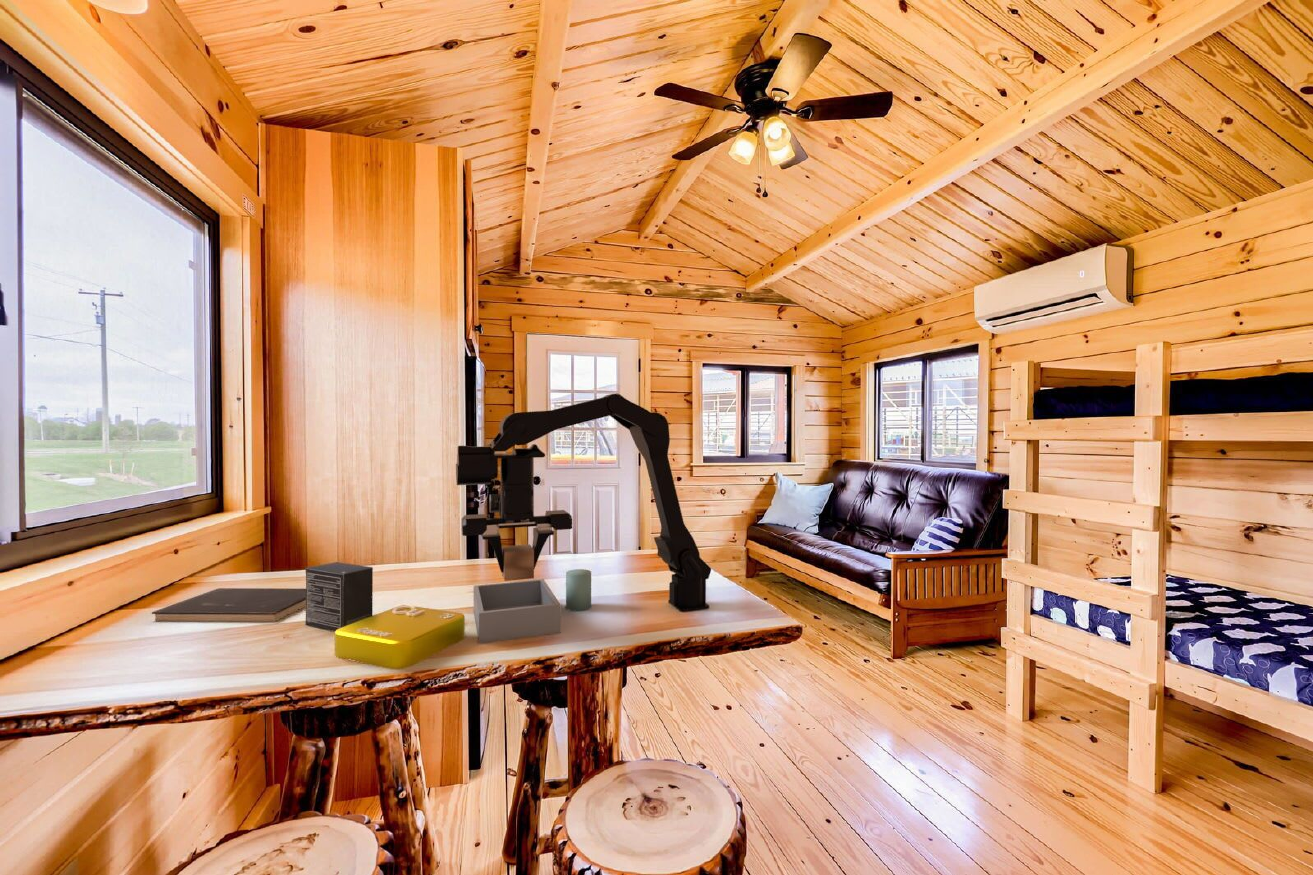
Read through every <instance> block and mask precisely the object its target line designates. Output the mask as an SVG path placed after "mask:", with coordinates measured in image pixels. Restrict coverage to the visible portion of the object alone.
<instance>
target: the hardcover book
mask: <svg viewBox="0 0 1313 875" xmlns="http://www.w3.org/2000/svg"><path fill="white" fill-rule="evenodd" d="M303 608H306V588H289V587H288V588H286V587H285V588H279V587H278V588H269V587H268V588H266V587H265V588H263V587H262V588H261V587H260V588H259V587H258V588H257V587H256V588H255V587H254V588H253V587H252V588H251V587H248V588H247V587H246V588H245V587H238V588H237V587H228V588H227V587H218V588H216V589H213V590H210V591H207V592H204V593H202V594H201V593H200V594H199V595H196V596H193V597H191V598H187V599H185V600H182V601H179V602H177V603H174V604H172V605H169V606H168V605H167V606H165V607H163V608H160V609H158V610H154V611H152V612H151V615H155V618H154V620H155V621H167V622H168V621H170V622H172V621H177V622H179V621H180V622H181V621H185V622H186V621H187V622H272V621H275V622H276V620H277V621H279V620H280V619H279V618H281V619H282V618H285V617H287V616H288V615H287V614H289V615H291V614H294V613H295V612H297V611H299V610H302V609H303ZM298 609H299V610H298ZM286 615H287V616H286ZM284 616H285V617H284ZM278 619H279V620H278Z"/></svg>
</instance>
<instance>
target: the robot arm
mask: <svg viewBox="0 0 1313 875" xmlns="http://www.w3.org/2000/svg"><path fill="white" fill-rule="evenodd" d="M608 416H609V417H611V418H612V419H613V420H614V421H616V422H617V423H618V424H620V425H621V426H622V427H623V428H625V429H627V430H628V431H629V432H630V435H631V437H632V440H633V443H634V444H635V447H636V448H637V450H638V451H639V453H640V454H641V456H642V458H643V460H644V462H645V466H646V470H647V474H648V477H649V481H650V486H651V491H652V494H653V497H654V498H653V499H654V502H655V506H656V511H657V514H658V518H659V523H660V527H661V528H660V535H659V536H654V537H653V539H654V542H655V545H656V547H657V557H659V558H661V560H662V561H663V562H664V563H665V564H667V566H668V569H669V572H672V573H673V574H671V581H670V582H669V586H668V587H669V589H668V590H669V596H668V597H669V598H668V602H667V603H669V604H670V605H671V606H673V607H674V609H676V610H677V611H679V612H686V611H687V612H688V611H694V610H704V609H709V608H710V605H709V603H707V592H706V591H707V589H706V588H707V580H708V579H709V578H710V575H711V572H712V567H710V566H709V564H708V563H706V562H705V561H704V560H703V559H702V558H701V556H700V550H699V548H698V546H697V544H696V543H697V542H695V539H694V537H693V536H692V534H691V532H690V531H689V529H688V528H687V526H686V524H685V521H684V518H683V514H682V510H681V506H680V502H679V497H678V493H677V488H676V485H675V481H674V480H675V479H674V476H673V472H672V469H671V465H670V461H669V455H668V454H669V448H670V442H671V438H670V427H669V426H670V425H669V422H668V419H667V417H666V416H665V415H663V414H662V413H660V412H656V411H654V412H653V411H652V412H651V411H650V410H648V409H646V408H645V407H643V406H640V405H638V404H636V403H634V402H632V401H630V400H628V399H627V398H626V397H624V396H623V395H622V394H620V393H610V394H606V395H604V396H602V397H598V398H595V399H591V400H587V401H582V402H579V403H574V404H571V405H567V406H563V407H559V408H554V409H550V410H537V411H521V412H513V413H508V414H507V415H505V416H504V417H503V418H501V421H500V422H499V426H498V433H497V435H496V436H495V437H494V438H493V439H492V440H491V441H490V443H489V445H487V446H469V445H458V446H457V454H456V463H455V478H456V479H455V480H456V481H455V482H456V483H455V484H456V486H476V485H478V486H479V485H491V484H492V480H495V479H498V476H499V474H498V473H499V462H498V461H499V460H498V459H500V493H499V494H498V493H496V494H493V493H492V494H489V498H488V500H489V501H488V503H489V504H488V505H489V506H488V507H489V513H490V514H493V513H494V514H495V513H498V516H499V517H493V518H487V516H486V514H485V513H484V514H483V513H481V514H480V513H479V514H464V516H462V518H461V534H462V536H464V537H468V536H469V537H471V536H481V538H482V540H487V541H489V543H490V546H491V547H492V549H493V551H494V554H495V558H496V560H497V564H498V566H499V571H500V573H502V572H503V570H504V562H503V554H502V538H501V534H500V532H499V529H512V528H528V527H529V528H530V527H533V528H532V545H531V547H532V548H533V549H534V570H535V569H536V566H537V563H538V560H539V558H540V555H541V554H542V550H543V548H544V546H545V544H546V542H547V540H548V539H549V537H550V536H554V535H555V531H560V530H561V531H562V530H572V529H573V517H572V515H571V514H570V513H569V512H567V511H566V510H564V509H560V510H559V509H557V510H546V511H545V515H535V514H534V511H535V510H534V509H535V506H534V504H535V503H534V502H535V500H534V499H535V498H534V496H535V495H534V493H535V492H534V490H535V489H534V488H535V487H534V486H535V484H534V482H535V481H534V480H535V479H534V478H535V475H534V472H535V471H534V470H535V468H534V467H535V465H534V462H535V461H534V458H545V457H546V454H545V453H544V452H543V451H542V450H541V449H540V448H539V447H538V445H537V444H535V443H533V444H531V446H530V447H528V448H527V447H526V448H518V447H517V448H513V447H514V446H524V445H527V444H529V443H532V442H534V441H536V440H539V439H540V438H543V437H544V436H546V435H548V434H550V433H551V432H554V431H556V430H560V429H563V428H567V427H570V426H574V425H578V424H584V423H588V422H590V421H593V420H598V419H602V418H605V417H608ZM511 448H512V452H511V453H510V454H509V453H507V454H506V453H505V454H503V453H502V454H495V453H496V452H507V451H508V450H509V449H511Z"/></svg>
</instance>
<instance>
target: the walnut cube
mask: <svg viewBox="0 0 1313 875" xmlns="http://www.w3.org/2000/svg"><path fill="white" fill-rule="evenodd" d="M502 554H503V562H504V570H503V572H501V576H502V578H503V581H504V582H512V581H522V580H533V579H534V578H535V569H534V549H533V548H532V545H531V544H517V545H504V546H502Z"/></svg>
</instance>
